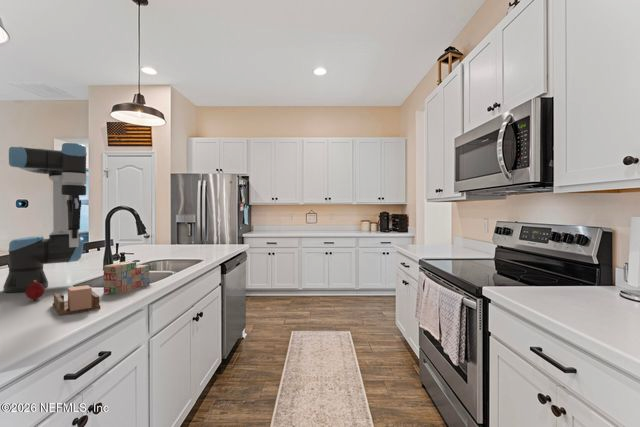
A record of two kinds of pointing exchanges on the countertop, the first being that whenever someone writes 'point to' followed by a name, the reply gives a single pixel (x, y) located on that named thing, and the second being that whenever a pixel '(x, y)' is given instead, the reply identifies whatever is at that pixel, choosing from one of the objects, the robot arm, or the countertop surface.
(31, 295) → the onion
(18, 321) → the countertop surface
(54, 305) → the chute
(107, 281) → the stack of blocks
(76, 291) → the block
